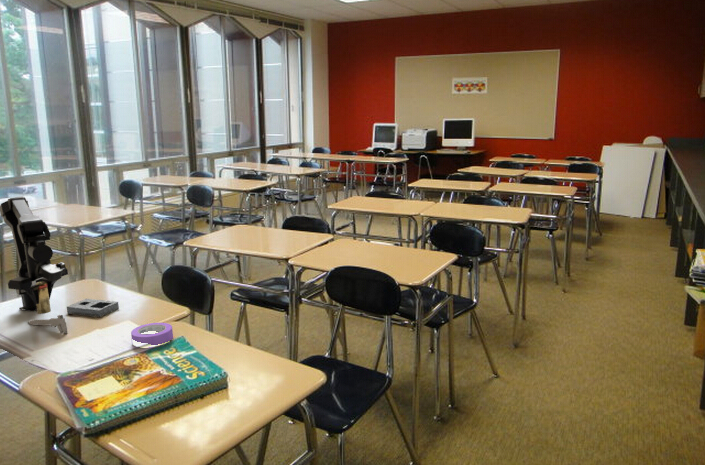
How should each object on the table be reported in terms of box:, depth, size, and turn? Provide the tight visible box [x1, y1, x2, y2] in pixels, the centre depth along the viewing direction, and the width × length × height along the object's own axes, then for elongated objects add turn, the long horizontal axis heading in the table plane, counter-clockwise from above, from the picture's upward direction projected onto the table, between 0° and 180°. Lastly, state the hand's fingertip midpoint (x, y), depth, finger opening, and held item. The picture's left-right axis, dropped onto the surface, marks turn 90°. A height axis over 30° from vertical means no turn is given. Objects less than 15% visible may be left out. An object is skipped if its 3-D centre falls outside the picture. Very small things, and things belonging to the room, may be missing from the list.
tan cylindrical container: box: [36, 282, 52, 315], centre depth 179 cm, size 4×4×10 cm
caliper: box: [27, 314, 68, 335], centre depth 172 cm, size 20×1×6 cm, turn 60°
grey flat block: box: [66, 298, 120, 318], centre depth 187 cm, size 14×9×2 cm, turn 72°
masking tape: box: [130, 322, 174, 345], centre depth 161 cm, size 12×12×4 cm
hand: (42, 301), depth 179 cm, fingers closed on tan cylindrical container, 4 cm apart
